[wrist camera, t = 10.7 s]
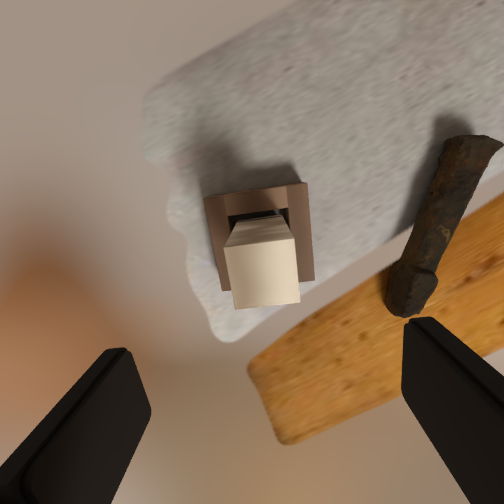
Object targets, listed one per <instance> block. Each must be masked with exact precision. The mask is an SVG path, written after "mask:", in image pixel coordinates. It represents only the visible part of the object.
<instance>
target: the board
mask: <svg viewBox="0 0 504 504" xmlns="http://www.w3.org/2000/svg"><path fill="white" fill-rule="evenodd" d="M203 200H204V204H205V209H206V214H207V219H208V224H209V229H210V234H211V239H212V244H213V249H214V254H215V258H216V263H217V268H218V273H219V278H220V283H221V288H222V291H230V290H231V285H230V280H229V274H228V269H227V264H226V258H225V253H224V246H225V244H226V242H227V240H228V238H229V236H230V234H231V233H232V231H233V229H234V227H233V221H232V215H239V214H246V213H253V212H260V211H267V210H274V209H281V208H286V216H287V226H288V228H289V230H290V231H291V233H292V235H293V237H294V241H295V251H296V262H297V272H298V282H305V281H313V280H315V275H314V262H313V249H312V237H311V224H310V211H309V198H308V185H307V183H304V182H300V183H293V184H287V185H280V186H273V187H267V188H260V189H253V190H247V191H240V192H234V193H227V194H220V195H214V196H209V197H206V198H204V199H203Z"/></svg>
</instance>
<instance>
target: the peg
mask: <svg viewBox="0 0 504 504" xmlns="http://www.w3.org/2000/svg"><path fill="white" fill-rule="evenodd" d="M224 253H225V258H226V264H227V269H228V274H229V280H230V285H231V290H232V296H233V301H234V306H235V310H236V309H245V308H254V307H263V306H272V305H281V304H290V303H299V302H300V293H299V283H298V272H297V262H296V251H295V241H294V237H293V235H292V233H291V231H290V230H289V228H288V226H287V224H286V222H285V220H284V218H283V215H282V214H280V215H273V216H266V217H258V218H251V219H244V220H238V221H237V222H236V225H235V227H234V229H233V231H232V233H231V234H230V236H229V238H228V240H227V242H226V244H225V246H224Z"/></svg>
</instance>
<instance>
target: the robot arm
mask: <svg viewBox="0 0 504 504" xmlns="http://www.w3.org/2000/svg"><path fill="white" fill-rule="evenodd" d="M401 390H402V394H403V397H404V399H405V401H406V403H407V404H408V406H409V407H410V409H411V410H412V412H413V414H414V415H415V417H416V419H417V420H418V421H419V423H420V425H421V426H422V428H423V430H424V431H425V433H426V434H427V436H428V437H429V439H430V441H431V442H432V444H433V445H434V447H435V448H436V450H437V452H438V453H439V455H440V456H441V458H442V460H443V461H444V462H445V464H446V466H447V467H448V469H449V471H450V472H451V474H452V475H453V477H454V478H455V480H456V482H457V483H458V485H459V486H460V488H461V490H462V491H463V493H464V494H465V496H466V497H467V499H468V500H469V502H470V504H504V376H503V375H502V374H500V373H499V372H498V371H497V370H495V369H494V368H493V367H492V366H491V365H490V364H488V363H487V362H486V361H485V360H483V359H482V358H481V357H480V356H479V355H478V354H476V353H475V352H474V351H473V350H472V349H470V348H469V347H468V346H467V345H466V344H464V343H463V342H462V341H461V340H460V339H458V338H457V337H456V336H455V335H454V334H452V333H451V332H450V331H449V330H448V329H446V328H445V327H444V326H443V325H442V324H440V323H439V322H438V321H437V320H436V319H434V318H433V317H419V318H411V319H410V320H409V323H407V324H405V325H404V336H403V359H402V382H401ZM150 417H151V407H150V404H149V401H148V398H147V395H146V392H145V390H144V387H143V384H142V381H141V378H140V376H139V373H138V370H137V367H136V365H135V361H134V359H133V356H132V354H131V352H130V351H127V349H126V348H112V349H107V350H105V351H104V352H103V353H102V354H101V355H100V356H99V357H98V359H97V360H96V361H95V362H94V363H93V364H92V365H91V367H90V368H89V369H88V370H87V371H86V372H85V373H84V374H83V375H82V377H81V378H80V379H79V380H78V381H77V382H76V383H75V384H74V385H73V386H72V388H71V389H70V390H69V391H68V392H67V393H66V394H65V395H64V396H63V398H62V399H61V400H60V401H59V402H58V403H57V404H56V405H55V407H54V408H53V409H52V410H51V411H50V412H49V413H48V414H47V415H46V416H45V418H44V419H43V420H42V421H41V422H40V423H39V424H38V425H37V426H36V428H35V429H34V430H33V431H32V432H31V433H30V434H29V435H28V437H27V438H26V439H25V440H24V441H23V442H22V443H21V444H20V445H19V447H18V448H17V449H16V450H15V451H14V452H13V453H12V454H11V455H10V457H9V458H8V459H7V460H6V461H5V462H4V463H3V464H2V465H1V467H0V504H111V503H112V500H113V498H114V496H115V494H116V492H117V490H118V487H119V485H120V483H121V481H122V479H123V477H124V474H125V472H126V470H127V468H128V466H129V464H130V461H131V459H132V457H133V455H134V453H135V450H136V448H137V446H138V444H139V442H140V440H141V437H142V435H143V433H144V431H145V429H146V426H147V424H148V422H149V420H150Z"/></svg>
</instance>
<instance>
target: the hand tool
mask: <svg viewBox="0 0 504 504" xmlns="http://www.w3.org/2000/svg"><path fill="white" fill-rule="evenodd" d="M444 144H445V147H446V151H445V152H444V153H443V154H442V155H441V156H440V157H439V158H438V160H439V162H440V165H439V168H438V170H437V173H436V176H435V178H434V180H433V181H432V184H431V187H430V191H429V193H428V196H427V198H426V200H425V202H424V204H423V207H422V208H421V209H420V210H419V215H418V218H417V220H416V222H415V224H414V227H413V230H412V233H411V235H410V237H409V240H408V242H407V244H406V246H405V249H404V251H403V254H402V256H401V258H400V259H399V260H398V261H396V262H395V263H394V264H393V267H392V270H391V273H390V276H389V281H388V287H387V295H386V307H387V309H388V310H389V311H390V312H391V313H392V314H393V315H394V316H399V317H402V318H407V317H410V316H412V315H414V314H419V313H420V312H421V310H422V309H423V308H424V305H425V303H426V301H427V300H428V298H429V297H430V296H431V295H432V293H433V292H434V290H435V288H436V286H437V284H438V279H437V277H436V275H435V272H436V270H437V267H438V264H439V262H440V259H441V257H442V255H443V253H444V251H445V250H446V248H447V246H448V244H449V242H450V240H451V238H452V236H453V234H454V231H455V230H456V228H457V226H458V224H459V221H460V219H461V217H462V215H463V214H464V211H465V209H466V208H467V205H468V203H469V201H470V199H471V198H472V196H473V193H474V191H475V189H476V187H477V185H478V183H479V180H480V178H481V176H482V174H483V172H484V170H485V169H486V167H488V166H487V165H488V163H489V161H490V159H491V157H492V156H493V155H494V154H495V152H496V151H498V150H499V149H500V148H502V147H503V146H504V144H503V143H502V142H500V141H498V140H495V139H493V138H490V137H489V136H486V135H459V136H455V137H453V138H449V139H446V140H445V142H444Z"/></svg>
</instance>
